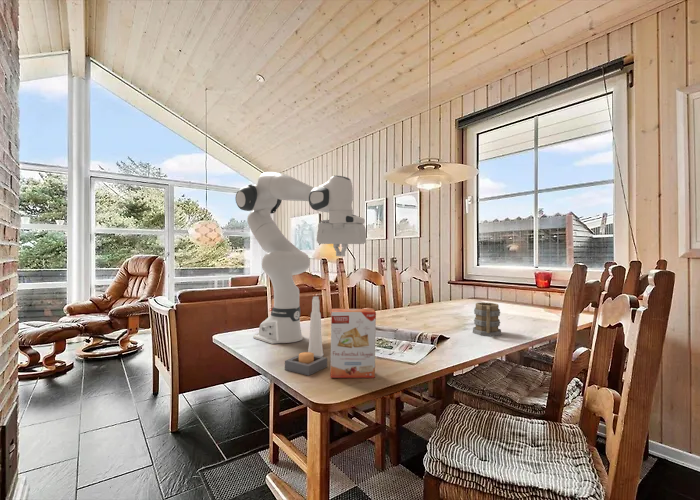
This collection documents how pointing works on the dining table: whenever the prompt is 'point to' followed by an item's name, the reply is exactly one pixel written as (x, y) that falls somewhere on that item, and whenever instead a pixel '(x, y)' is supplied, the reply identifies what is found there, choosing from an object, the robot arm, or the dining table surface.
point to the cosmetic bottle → (315, 329)
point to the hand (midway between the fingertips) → (340, 256)
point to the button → (306, 357)
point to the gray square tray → (305, 365)
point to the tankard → (487, 319)
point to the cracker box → (353, 343)
